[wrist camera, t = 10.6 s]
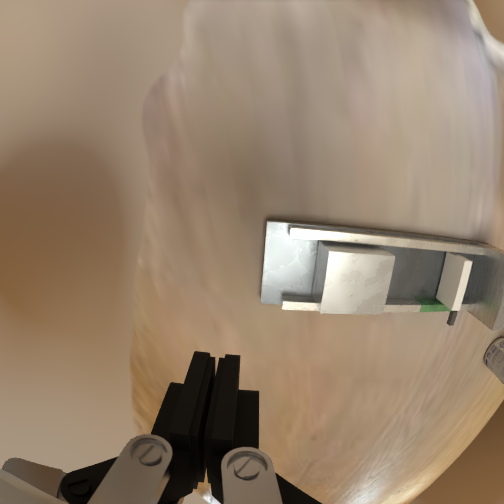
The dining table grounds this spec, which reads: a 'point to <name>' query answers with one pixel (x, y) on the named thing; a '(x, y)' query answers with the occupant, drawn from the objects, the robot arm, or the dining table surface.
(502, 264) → the gauge bed
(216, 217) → the dining table surface
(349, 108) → the dining table surface
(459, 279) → the white slab
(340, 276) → the grey block
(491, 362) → the energy drink
